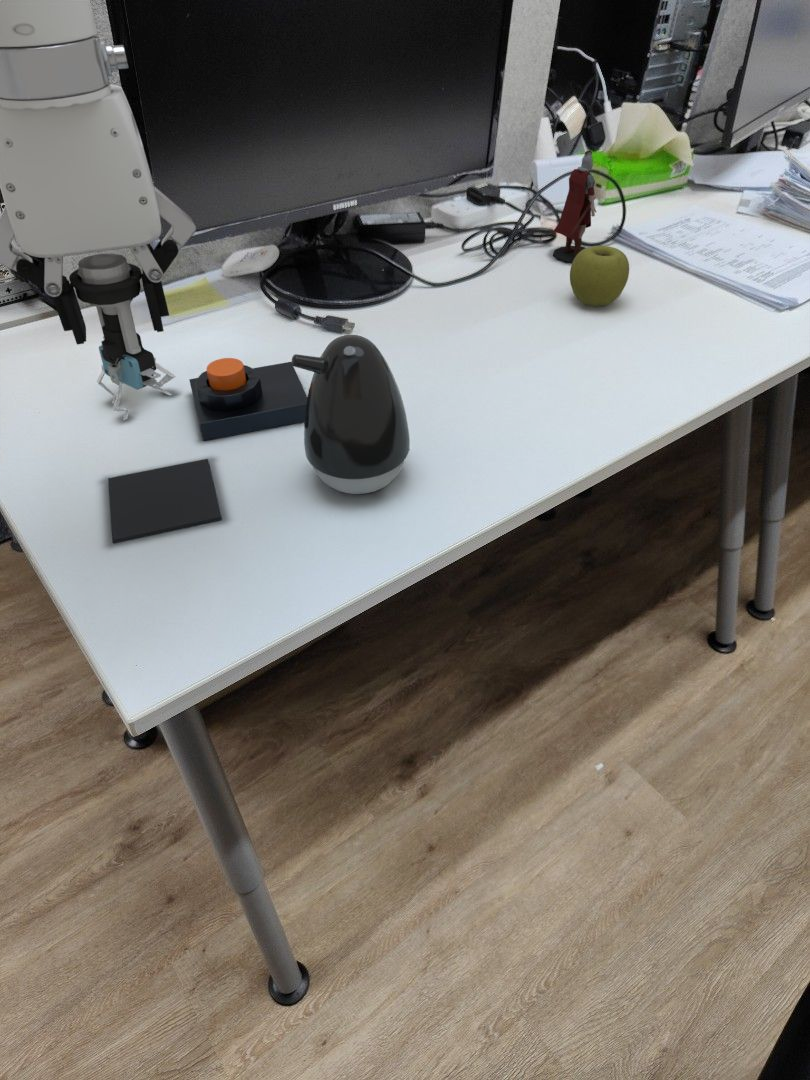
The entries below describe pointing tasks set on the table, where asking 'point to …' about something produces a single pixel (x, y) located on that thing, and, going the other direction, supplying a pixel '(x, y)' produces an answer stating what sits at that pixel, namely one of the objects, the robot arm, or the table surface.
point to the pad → (162, 500)
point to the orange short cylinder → (226, 374)
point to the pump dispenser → (354, 417)
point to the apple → (599, 275)
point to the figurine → (577, 210)
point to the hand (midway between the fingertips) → (119, 328)
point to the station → (250, 402)
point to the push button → (116, 317)
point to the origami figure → (117, 398)
